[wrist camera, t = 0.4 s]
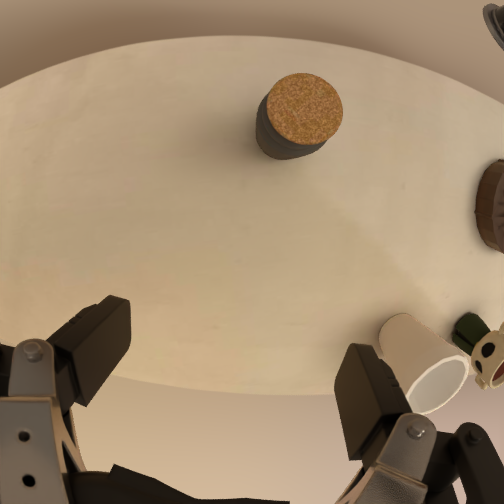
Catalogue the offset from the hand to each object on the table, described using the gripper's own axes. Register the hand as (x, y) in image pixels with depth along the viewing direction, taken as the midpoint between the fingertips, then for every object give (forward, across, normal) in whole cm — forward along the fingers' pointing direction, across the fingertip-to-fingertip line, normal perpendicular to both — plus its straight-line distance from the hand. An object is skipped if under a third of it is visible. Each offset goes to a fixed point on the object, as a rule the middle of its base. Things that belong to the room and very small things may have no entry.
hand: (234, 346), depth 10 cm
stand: (+26, -37, -11) cm, 47 cm away
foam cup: (+26, -22, +12) cm, 36 cm away
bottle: (+24, 0, -10) cm, 26 cm away
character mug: (+27, -37, +10) cm, 47 cm away
